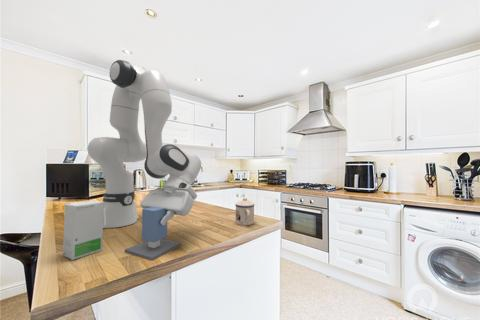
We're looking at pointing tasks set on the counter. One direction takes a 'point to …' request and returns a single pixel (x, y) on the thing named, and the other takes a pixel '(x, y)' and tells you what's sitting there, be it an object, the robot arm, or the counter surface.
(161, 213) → the blue block
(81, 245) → the skincare box
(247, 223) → the teacup with lid
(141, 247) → the post
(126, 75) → the robot arm
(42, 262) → the counter surface
